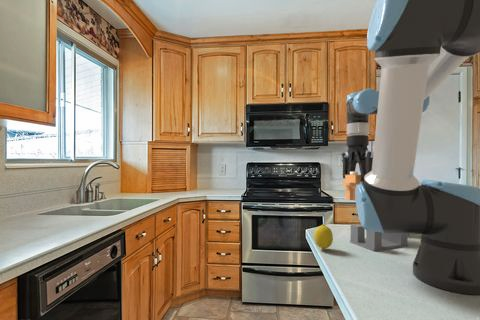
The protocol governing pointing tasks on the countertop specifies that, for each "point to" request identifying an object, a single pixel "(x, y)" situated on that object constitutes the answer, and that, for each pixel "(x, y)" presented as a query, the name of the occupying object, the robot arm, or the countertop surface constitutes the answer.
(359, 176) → the block
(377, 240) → the grey stand
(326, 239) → the lemon
